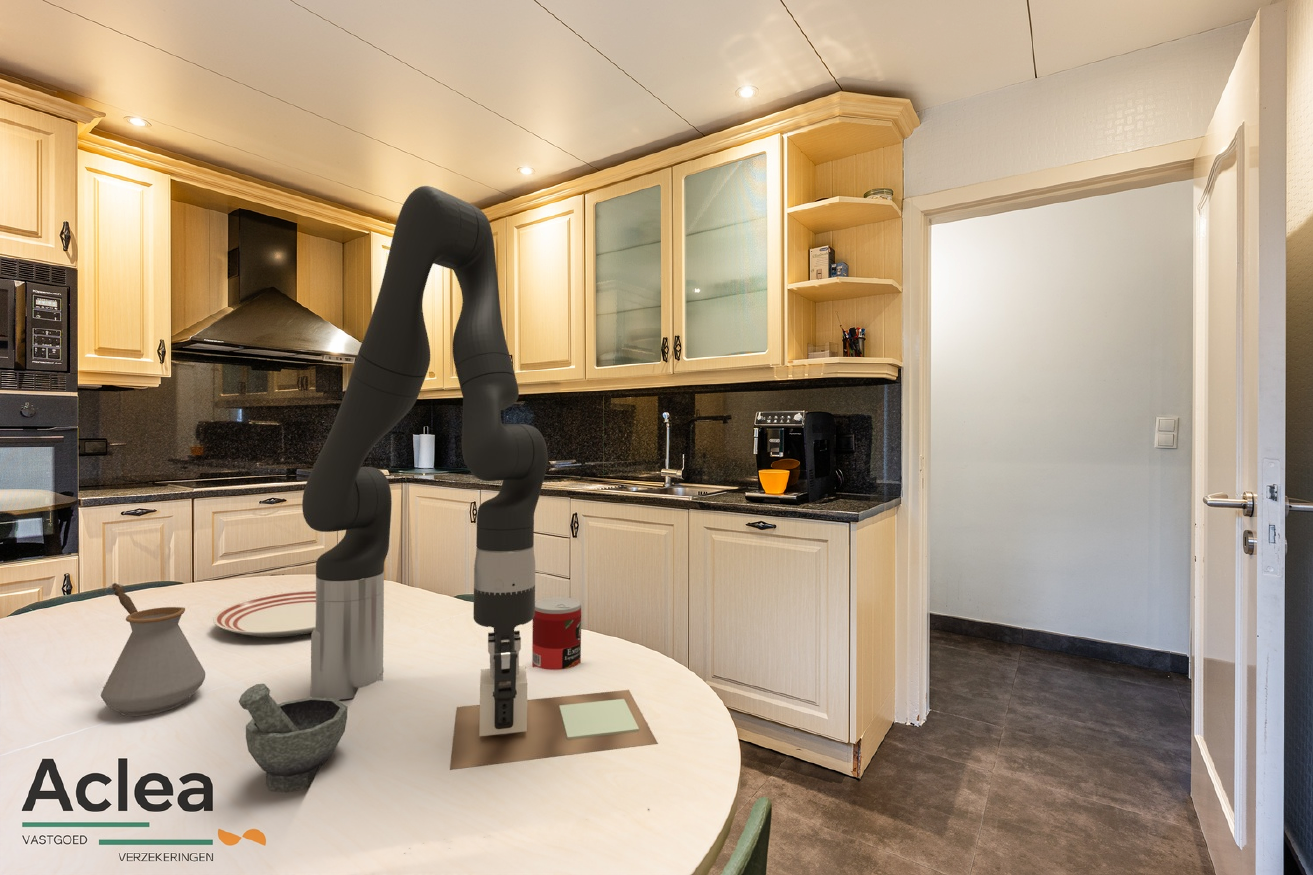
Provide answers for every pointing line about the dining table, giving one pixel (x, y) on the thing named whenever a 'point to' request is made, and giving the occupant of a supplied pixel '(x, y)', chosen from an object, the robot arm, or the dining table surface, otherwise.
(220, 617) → the dinner plate
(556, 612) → the canned food
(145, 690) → the coffee pot
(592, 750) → the post board
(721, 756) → the dining table surface
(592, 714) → the mat
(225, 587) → the dining table surface
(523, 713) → the cream drawer box
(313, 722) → the mortar and pestle
